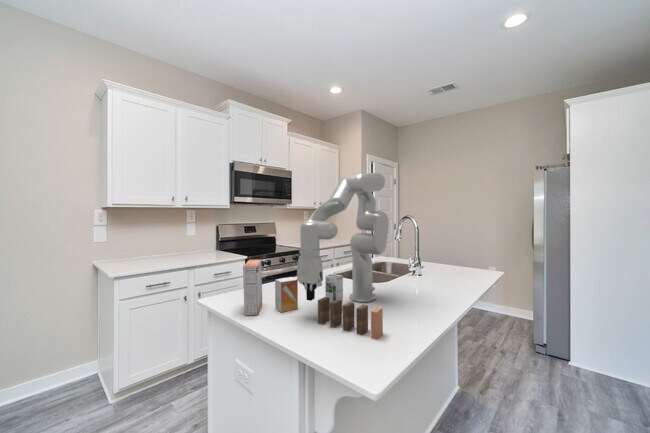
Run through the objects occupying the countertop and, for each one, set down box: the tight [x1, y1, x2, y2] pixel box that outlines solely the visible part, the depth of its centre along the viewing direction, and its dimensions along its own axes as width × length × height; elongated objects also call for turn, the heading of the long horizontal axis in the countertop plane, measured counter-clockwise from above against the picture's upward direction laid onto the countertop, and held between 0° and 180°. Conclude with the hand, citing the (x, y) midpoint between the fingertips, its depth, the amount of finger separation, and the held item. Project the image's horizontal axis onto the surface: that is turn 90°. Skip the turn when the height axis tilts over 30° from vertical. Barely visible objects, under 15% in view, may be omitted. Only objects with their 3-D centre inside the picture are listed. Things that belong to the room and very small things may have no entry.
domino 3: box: [342, 301, 356, 333], centre depth 104 cm, size 2×5×9 cm, turn 145°
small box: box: [274, 276, 299, 313], centre depth 126 cm, size 8×6×13 cm
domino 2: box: [329, 299, 343, 329], centre depth 108 cm, size 2×5×9 cm, turn 145°
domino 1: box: [317, 296, 330, 326], centre depth 111 cm, size 2×5×9 cm, turn 145°
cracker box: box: [242, 259, 263, 317], centre depth 124 cm, size 14×6×21 cm, turn 5°
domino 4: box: [355, 304, 369, 336], centre depth 101 cm, size 2×5×9 cm, turn 145°
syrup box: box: [324, 273, 344, 309], centre depth 126 cm, size 6×6×14 cm
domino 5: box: [370, 306, 384, 340], centre depth 98 cm, size 2×5×9 cm, turn 145°
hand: (310, 299), depth 114 cm, fingers closed
